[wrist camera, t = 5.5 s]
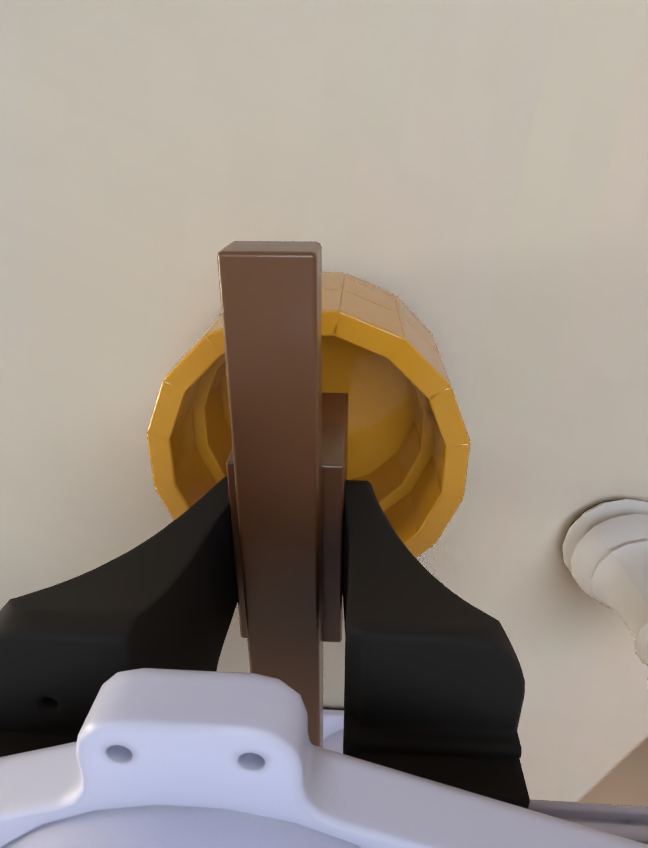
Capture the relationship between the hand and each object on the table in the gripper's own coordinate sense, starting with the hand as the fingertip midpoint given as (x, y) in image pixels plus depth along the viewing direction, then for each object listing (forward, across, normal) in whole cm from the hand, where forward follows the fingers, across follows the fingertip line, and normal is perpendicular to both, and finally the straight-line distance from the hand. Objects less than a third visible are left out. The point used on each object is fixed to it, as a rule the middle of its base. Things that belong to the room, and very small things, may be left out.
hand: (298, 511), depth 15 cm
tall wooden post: (+2, 0, 0) cm, 2 cm away
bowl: (+8, 0, 0) cm, 8 cm away
